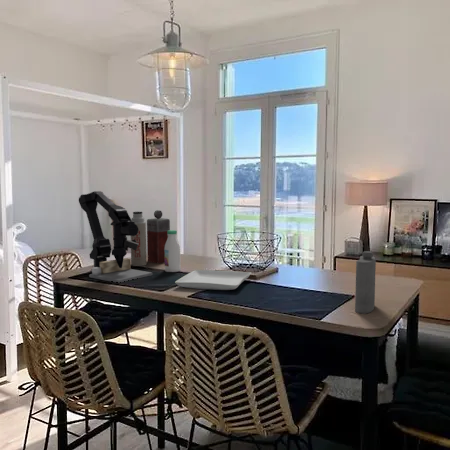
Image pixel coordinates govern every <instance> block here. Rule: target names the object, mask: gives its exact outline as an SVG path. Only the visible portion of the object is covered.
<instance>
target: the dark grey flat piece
mask: <svg viewBox="0 0 450 450" xmlns="http://www.w3.org/2000/svg"><path fill="white" fill-rule="evenodd" d="M91 269H92V270H91V273H90V274H89V275H88V277H89V278H91V279H96V280H102V281H106V282H111V281H113V282H112V283H116V282H118V284H120V282H121V283H125V282H128V280H129V281H133V280H132V279H134V280H137V278H138V279H141V278H146V277H150V276H153V272H152V271H144V270H139V269H132V268H131V269H127V270H121V271H115V272H109V273H101V267H94V266H93V267H92V268H91ZM124 281H125V282H124Z"/></svg>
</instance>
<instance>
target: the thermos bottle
mask: <svg viewBox="0 0 450 450" xmlns="http://www.w3.org/2000/svg"><path fill="white" fill-rule="evenodd" d="M131 220H132V221H134V222H135V224H136V225H137V226H138V233H137V235H135V236H130V241H132V240H133V239H134V240H136V243H138V247H137V250H133V249H131V248H130V261H131V266H133V267H134V266H135V267H136V266H137V267H138V266H139V267H141V266H142V267H143V266H146V265H147V221H145V217H143V211H132V217H131Z"/></svg>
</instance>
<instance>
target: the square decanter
mask: <svg viewBox="0 0 450 450" xmlns="http://www.w3.org/2000/svg"><path fill="white" fill-rule="evenodd" d="M153 216H154V218H148V219H146V253H147V262H148V263H154V264H162V263H164V264H165V244H166V241H167V239H168V234H167V231H169V230H171V221H170V218H162V217H163V211H162V210H158V209H157V210H155V211H154V213H153Z"/></svg>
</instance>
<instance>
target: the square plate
mask: <svg viewBox="0 0 450 450" xmlns="http://www.w3.org/2000/svg"><path fill="white" fill-rule="evenodd" d="M251 274H252V272H250V271H237V270H235V271H233V270H219V269H218V270H215V269H209V270H208V269H195V270H193V271H191V272H189V273H187V274H185V275H184V276H181V278H178V279H177V280H176V281H175V282H174V283H175V284H176V285H177V286H179V287H180V288H181V287H182V288H190V289H200V290H201V289H202V290H216V291H230V290H231V291H232V290H236V289H237V288H238V287H239V286H240V285H241V284H242V283H243V282H244V281H245V280H247V279H248V278H249V277H250V275H251Z"/></svg>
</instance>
